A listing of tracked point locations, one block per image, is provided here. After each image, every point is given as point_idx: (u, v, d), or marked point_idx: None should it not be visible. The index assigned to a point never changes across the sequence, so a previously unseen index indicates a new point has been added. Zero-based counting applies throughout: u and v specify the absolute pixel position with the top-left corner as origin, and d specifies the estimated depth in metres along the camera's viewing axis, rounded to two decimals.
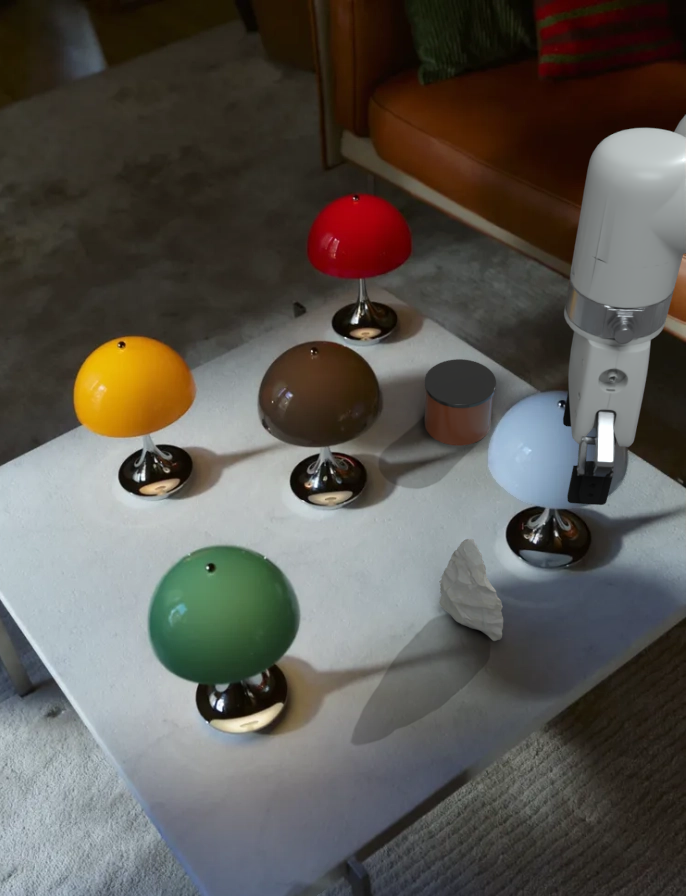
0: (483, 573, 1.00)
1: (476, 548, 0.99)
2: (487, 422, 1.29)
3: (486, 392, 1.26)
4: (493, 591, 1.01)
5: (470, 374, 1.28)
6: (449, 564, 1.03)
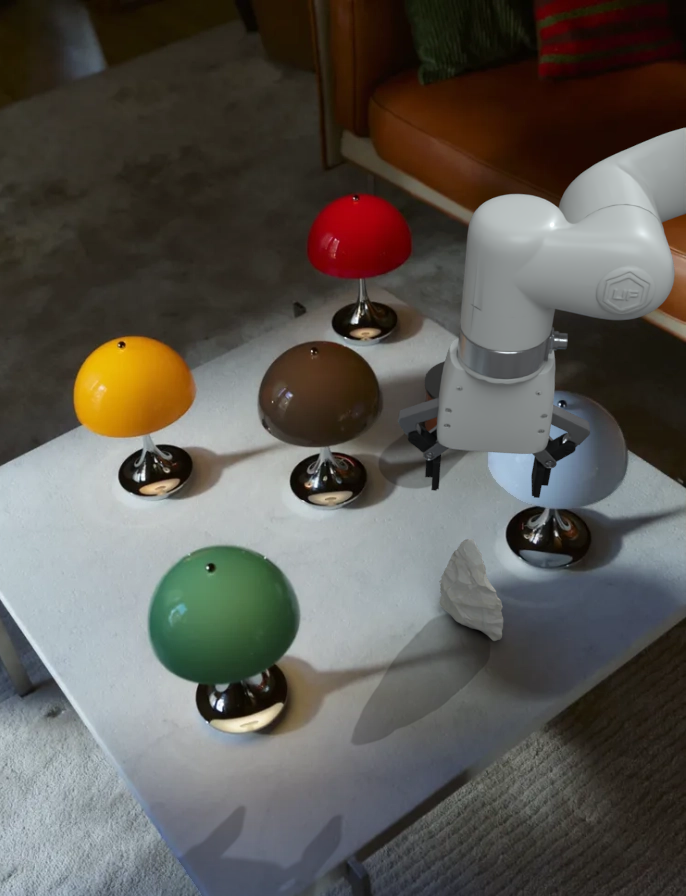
0: (483, 573, 1.00)
1: (476, 548, 0.99)
2: None
3: None
4: (493, 591, 1.01)
5: None
6: (449, 564, 1.03)
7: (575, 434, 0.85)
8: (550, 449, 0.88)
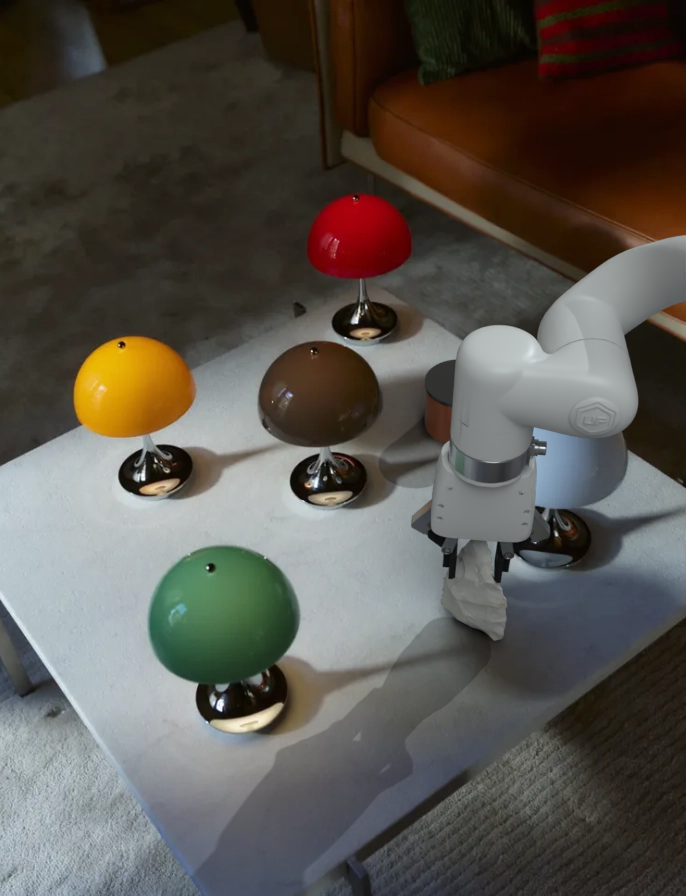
0: (491, 570, 1.00)
1: (486, 544, 0.99)
2: None
3: None
4: (499, 589, 1.01)
5: None
6: None
7: (537, 534, 0.96)
8: (512, 543, 0.98)
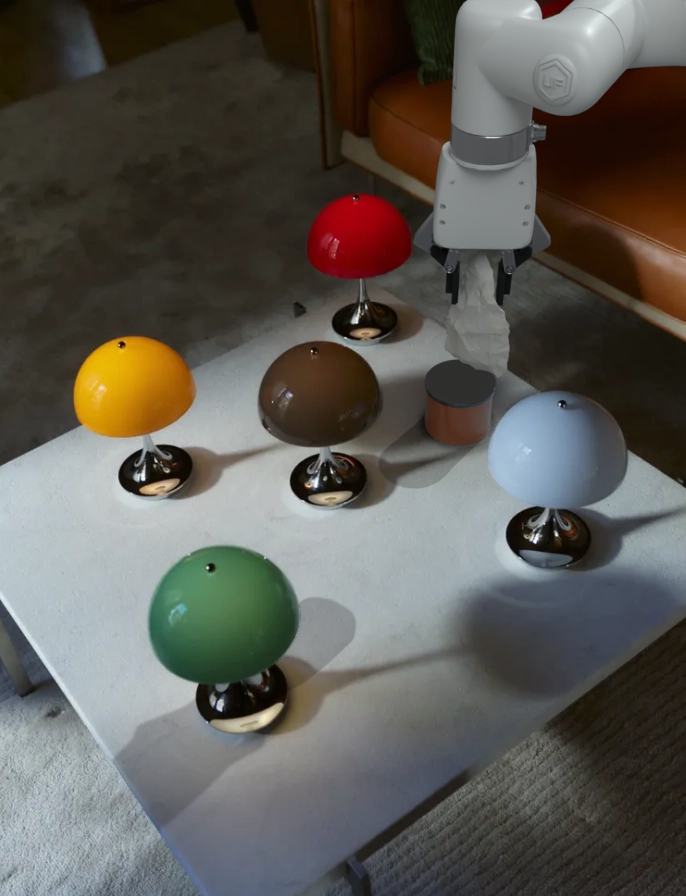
0: (493, 290, 1.01)
1: (487, 262, 1.00)
2: (487, 422, 1.29)
3: (486, 392, 1.26)
4: (502, 311, 1.02)
5: (470, 374, 1.28)
6: None
7: (538, 242, 0.97)
8: None
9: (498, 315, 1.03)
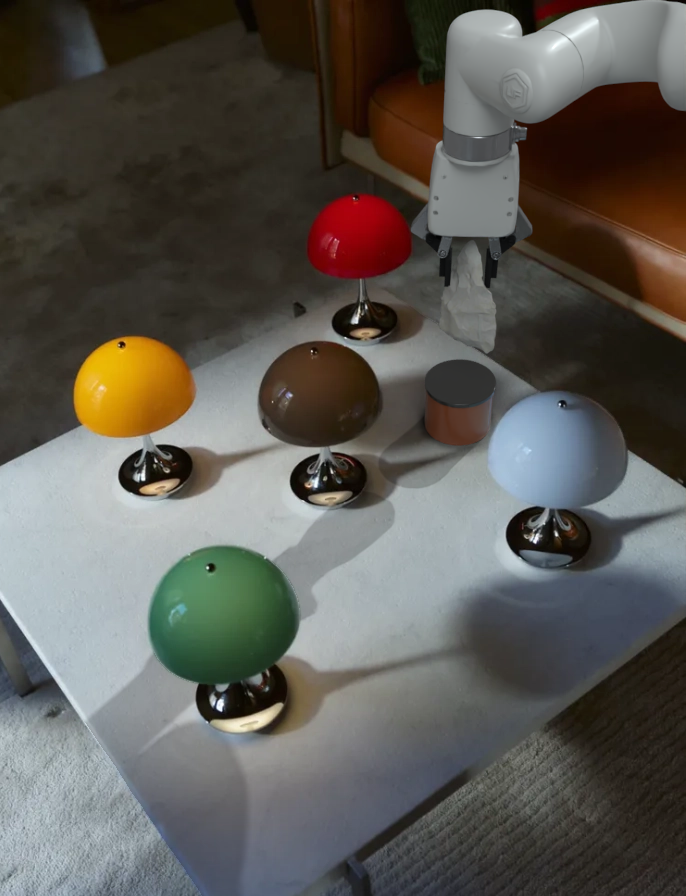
0: (481, 273, 1.13)
1: (476, 248, 1.12)
2: (487, 422, 1.29)
3: (486, 392, 1.26)
4: (489, 293, 1.14)
5: (470, 374, 1.28)
6: (451, 275, 1.17)
7: (521, 231, 1.09)
8: None
9: (486, 296, 1.15)
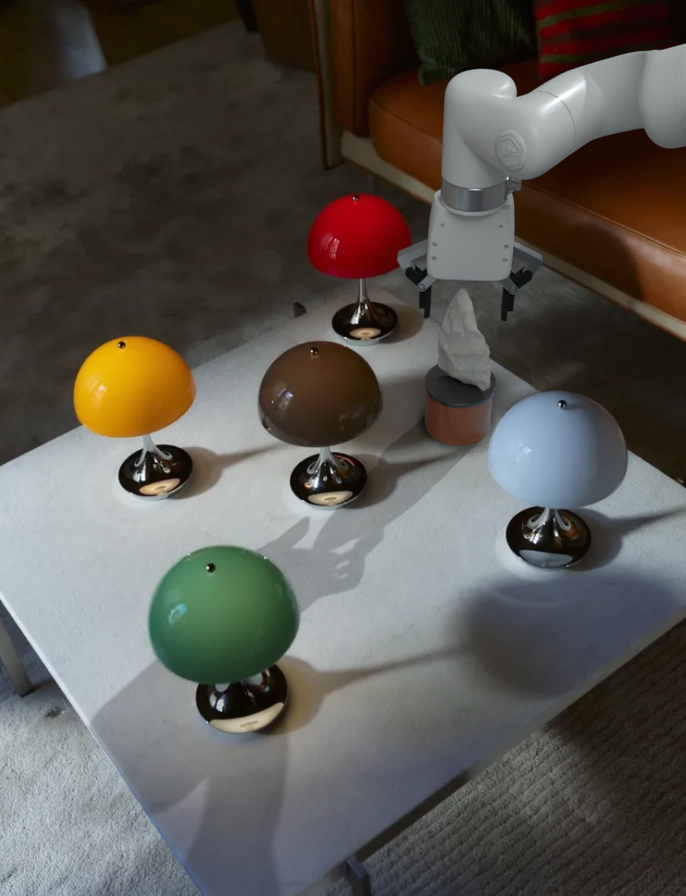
0: (473, 318, 1.18)
1: (467, 295, 1.17)
2: (487, 422, 1.29)
3: (486, 392, 1.26)
4: (482, 336, 1.19)
5: None
6: (445, 318, 1.21)
7: (531, 264, 1.12)
8: (513, 279, 1.15)
9: (479, 339, 1.19)
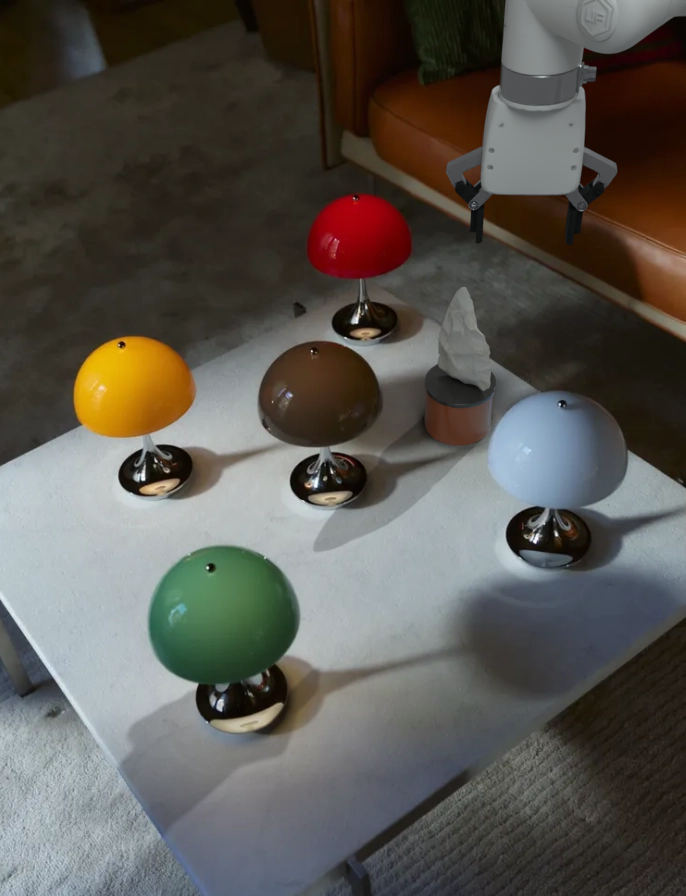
0: (474, 318, 1.18)
1: (468, 295, 1.17)
2: (487, 422, 1.29)
3: (486, 392, 1.26)
4: (482, 336, 1.19)
5: None
6: (445, 318, 1.21)
7: (604, 174, 0.96)
8: (582, 193, 0.99)
9: (479, 339, 1.19)
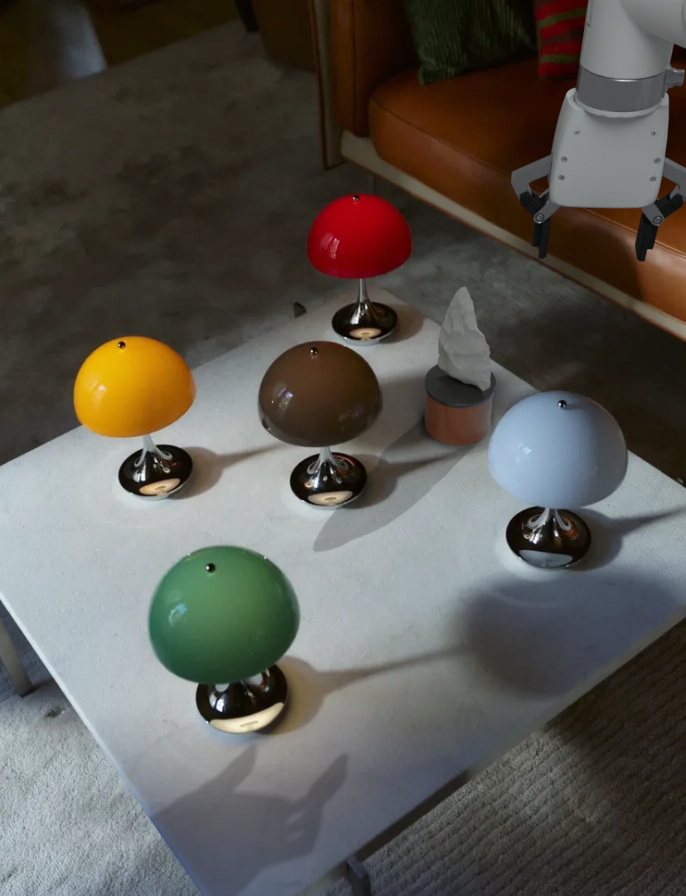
0: (474, 318, 1.18)
1: (468, 295, 1.17)
2: (487, 422, 1.29)
3: (486, 392, 1.26)
4: (482, 336, 1.19)
5: None
6: (445, 318, 1.21)
7: (684, 186, 0.89)
8: (658, 206, 0.91)
9: (479, 339, 1.19)
